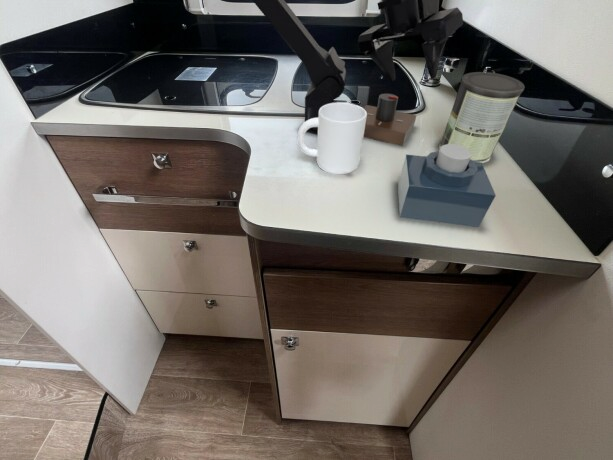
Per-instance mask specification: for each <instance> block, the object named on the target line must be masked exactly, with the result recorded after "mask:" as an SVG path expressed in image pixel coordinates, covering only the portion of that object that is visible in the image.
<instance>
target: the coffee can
mask: <svg viewBox="0 0 613 460" xmlns="http://www.w3.org/2000/svg"><path fill="white" fill-rule="evenodd" d="M525 88H526V87H525V84H524V83H523V82H522V81H520V80H519V79H517V78H515V77H512V76H508V75H505V74H502V73H495V72H489V71H475V72H473V71H472V72H467V73H465V74H464V75H462V77H461V80H460V85H459V88H458V91H457V93H456V96H455V100H454V102H453V105H452V108H451V112H450V114H449V117H448V120H447V123H446V126H445V128H444V131H443V135H442V138H441V140H440V143H439V145H438V151H439V150H440V148H441V146H443V145H446V144H455V145H460V146H463V147H465V148H467V149H468V150H470V152H471V153H472V156H471V158H470V159H471V160H472V161H474V162H481V163H482V165H483V164H485V163H488V162H489V161H490V160H491V158H492V156H493V153H494V151H495V148H496V147H497V144H498V142H499V140H500V139H501V136H502V134H503V132H504V130H505V128H506V126H507V124H508V121H509V119H510V117H511V115H512V113H513V111H514V109H515V107H516V105H517V103H518V101H519V98H520V96H521V95H522V93H523V92H524V90H525Z"/></svg>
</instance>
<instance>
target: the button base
mask: <svg viewBox="0 0 613 460" xmlns="http://www.w3.org/2000/svg"><path fill="white" fill-rule="evenodd" d="M438 153H439V150H437V151H432V152H429V154H427V156H423V155H415V154H405V157H404V161H403V164H402V168H401V172H400V176H399V178H398V179H399V180H398V183H397V193H398V194H397V195H398V207H399V208H398V209H399V211H398V212H399V218H402V219H410V220H411V219H412V220H419V221H426V222H432V223H433V222H434V223H443V224H449V225H458V226H464V227H473V228H479V227H480V225H482V222H483V220H484V218H485V216H486V215H487V213H488V211H489V209H490V207H491V205H492V204H493V202H494V200H495V198H496V193H495V190H494V187H493V185H492V183H491V181H490V179H489V176H488V174H487V172H486V169H485V167H484V165H483V164H482V163H481V162H474V161H472V160H471V159H470V161H469V163H468V165H467V168H466V170H465V171H464V172H459V173H457V172H449V171H446V170H444V169H441V168H440V167H438V166H437V165H436V159H437V156H438Z"/></svg>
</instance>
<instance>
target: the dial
mask: <svg viewBox="0 0 613 460" xmlns="http://www.w3.org/2000/svg"><path fill="white" fill-rule="evenodd" d="M398 101H399V96H397V95H396V94H393V93H381V94H379V95H378V100H377V106H376V107H377V111H376V119H378V120H380V121H386V122H387V121H392V120H393V119H394V115H395V111H397V105H398Z"/></svg>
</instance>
